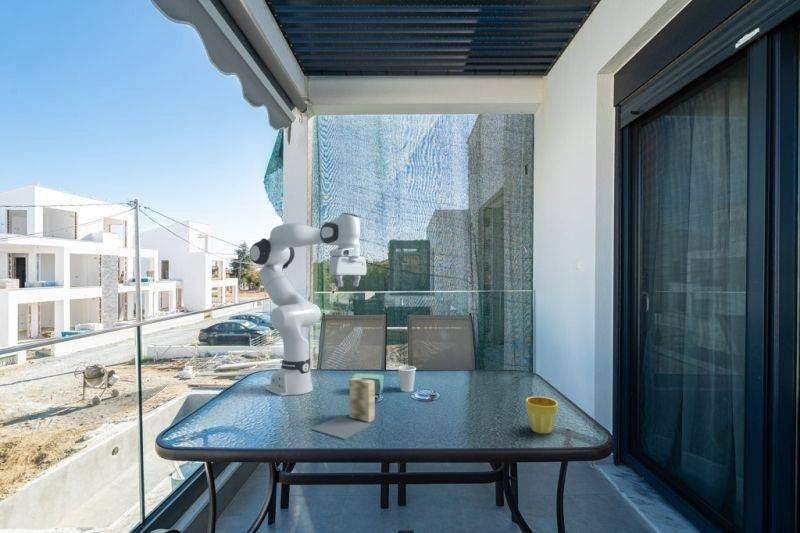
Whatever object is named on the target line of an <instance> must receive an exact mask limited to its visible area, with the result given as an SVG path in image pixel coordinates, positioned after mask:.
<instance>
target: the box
mask: <svg viewBox="0 0 800 533" xmlns="http://www.w3.org/2000/svg"><path fill="white" fill-rule="evenodd" d="M384 376H385V375H383V374H377V373H376V374H372V373H356V372H355V373H354V374H353V375H352V376H351V377H350V379H352V378H355V377H357V378H363V379H368V380H373V381H375V394H379V395H378V396H380V395H381V393H382V392H383V391H384V389H385V388H384V387H385V377H384Z"/></svg>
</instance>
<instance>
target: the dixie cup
mask: <svg viewBox="0 0 800 533" xmlns="http://www.w3.org/2000/svg"><path fill="white" fill-rule="evenodd" d="M397 369H398V370H397V371H398V379H399V388H400V391H401V392H404V393H406V392H407V393H410V392H413V391H414V385H415V378H416V370H417V368H416V366H414V365H400V366H398V367H397Z"/></svg>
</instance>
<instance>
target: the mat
mask: <svg viewBox="0 0 800 533" xmlns="http://www.w3.org/2000/svg"><path fill="white" fill-rule="evenodd" d="M370 427H372V424H371V423H368V422H362V421H361V420H357V419H356V420H355V419H353V418H352V419H351V418H348V417H344V416H341V415H338V416H337V417H333V419H330V420H328V421H326V422H323V423H321V424H319V425H316V426H314V427H312V428H311V431H315V432H318V433H321V434H324V435H328V436H329V437H330V436H331V437H333V438H337V439H341V440H344V441H345V440H347V439H349V438H351V437H353V436H355V435H357V434H358V433H361V432H362V431H365V430H366V429H368V428H370Z"/></svg>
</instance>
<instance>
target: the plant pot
mask: <svg viewBox="0 0 800 533" xmlns="http://www.w3.org/2000/svg"><path fill="white" fill-rule="evenodd" d="M525 410H526V411H527V414H528V419H529V423H530V424H529V425H530V428H531V430H532V431H533V432H535V433H538V434H546V435H547V434H549V433H552V431H553V426H554V423H555V418H556V415H557V414H559V413H558V412H559V402H558V401H557V400H555V399H554V398H550V397H546V396H530V397H527V398H526V399H525Z"/></svg>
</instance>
